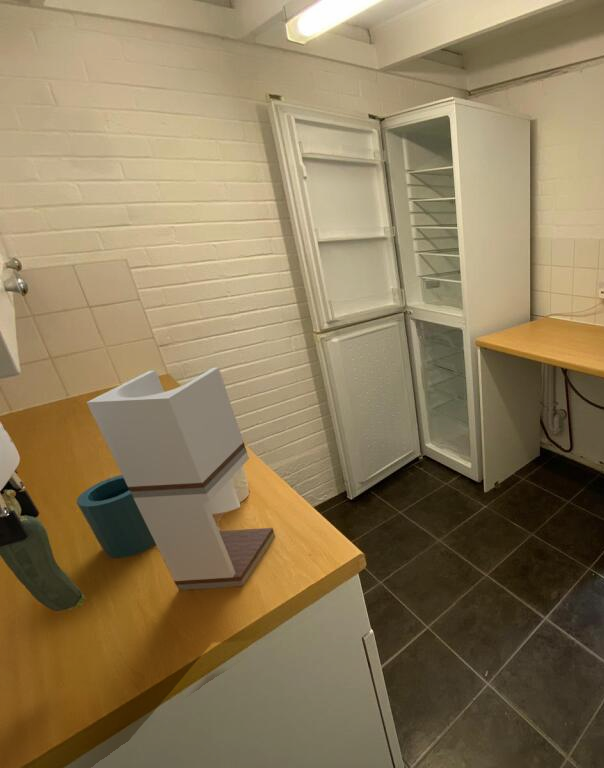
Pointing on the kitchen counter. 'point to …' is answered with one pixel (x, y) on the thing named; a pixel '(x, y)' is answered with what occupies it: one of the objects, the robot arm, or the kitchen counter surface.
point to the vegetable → (39, 564)
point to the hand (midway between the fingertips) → (16, 529)
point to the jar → (115, 518)
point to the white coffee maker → (183, 474)
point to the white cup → (240, 484)
